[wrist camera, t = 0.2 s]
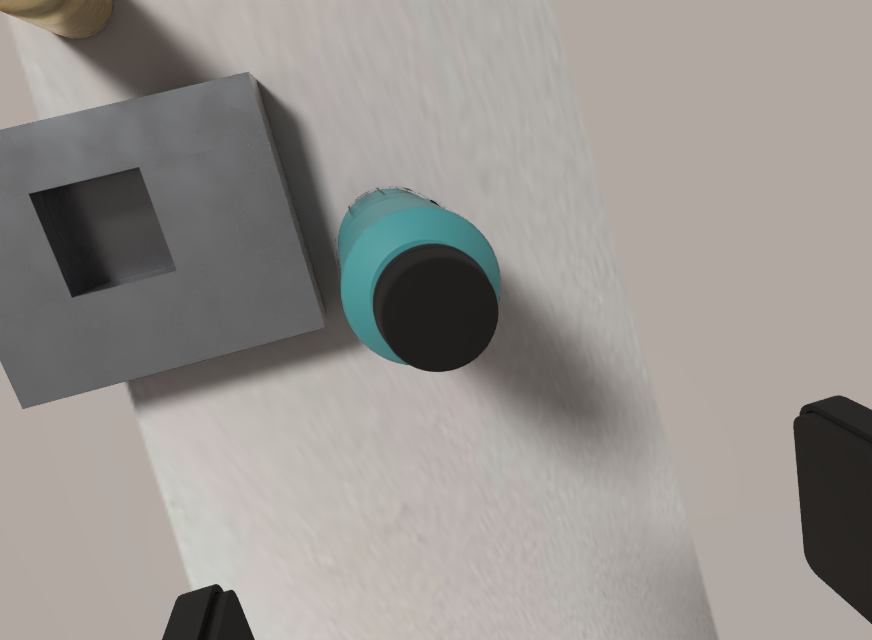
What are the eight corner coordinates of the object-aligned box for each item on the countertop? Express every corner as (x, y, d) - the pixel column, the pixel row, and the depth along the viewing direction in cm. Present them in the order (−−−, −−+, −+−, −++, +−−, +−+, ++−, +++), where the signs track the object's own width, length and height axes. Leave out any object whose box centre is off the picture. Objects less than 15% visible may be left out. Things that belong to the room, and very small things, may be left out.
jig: (-55, 151, 34) (-97, 152, 31) (256, 79, 36) (248, 72, 32) (49, 386, 38) (22, 409, 35) (325, 312, 40) (325, 327, 36)
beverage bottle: (330, 284, 39) (327, 413, 20) (340, 174, 38) (346, 202, 19) (434, 294, 41) (523, 424, 21) (448, 188, 39) (557, 227, 20)
